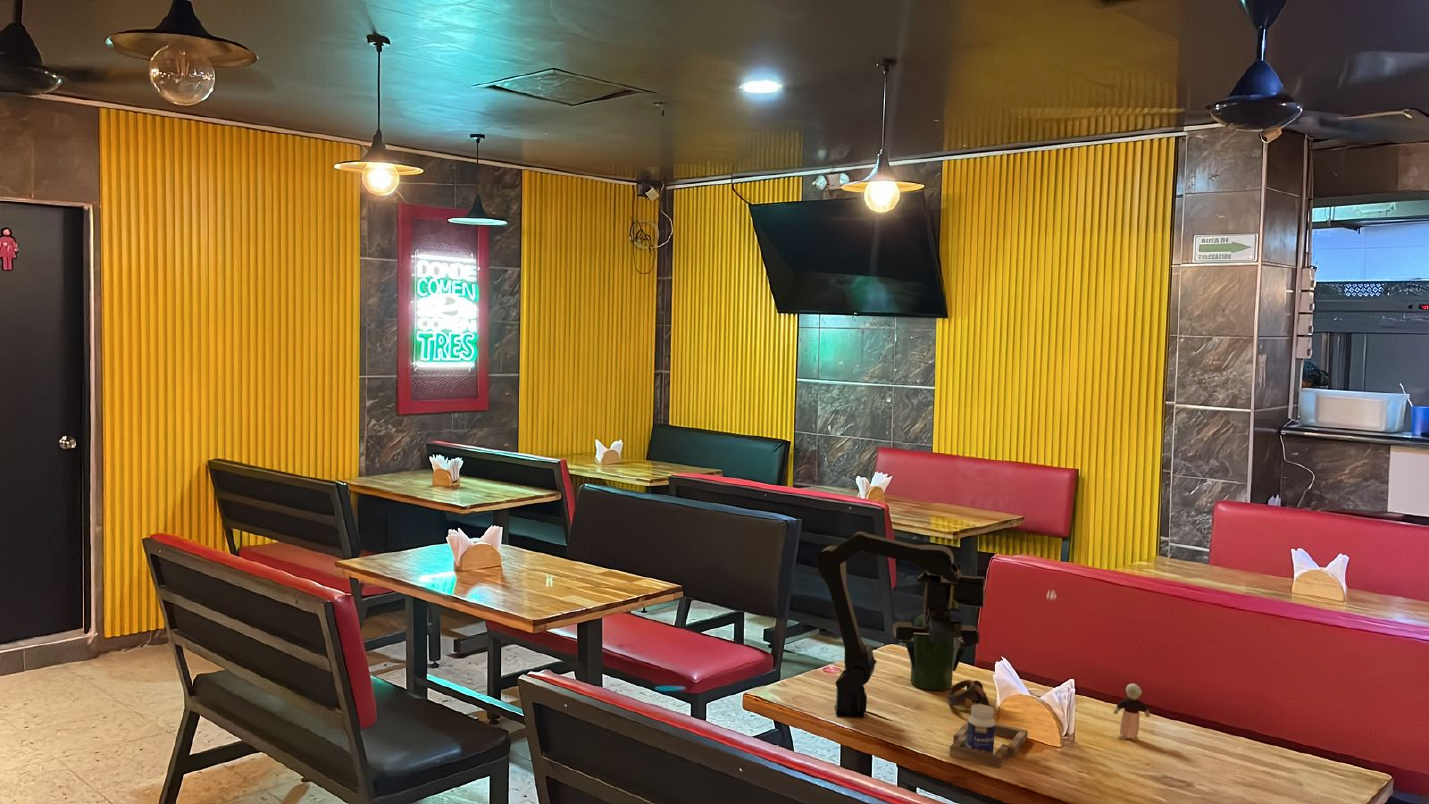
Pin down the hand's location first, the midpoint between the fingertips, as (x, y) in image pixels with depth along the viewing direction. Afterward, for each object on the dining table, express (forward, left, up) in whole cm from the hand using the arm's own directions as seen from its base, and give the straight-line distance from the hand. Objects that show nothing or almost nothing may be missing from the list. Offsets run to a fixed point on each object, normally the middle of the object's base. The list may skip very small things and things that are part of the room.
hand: (933, 669), depth 242 cm
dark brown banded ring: (+11, +12, -13) cm, 21 cm away
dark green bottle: (+5, +29, -13) cm, 32 cm away
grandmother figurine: (+45, -1, -13) cm, 47 cm away
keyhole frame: (+10, -12, -13) cm, 20 cm away
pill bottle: (+8, -16, -13) cm, 22 cm away
